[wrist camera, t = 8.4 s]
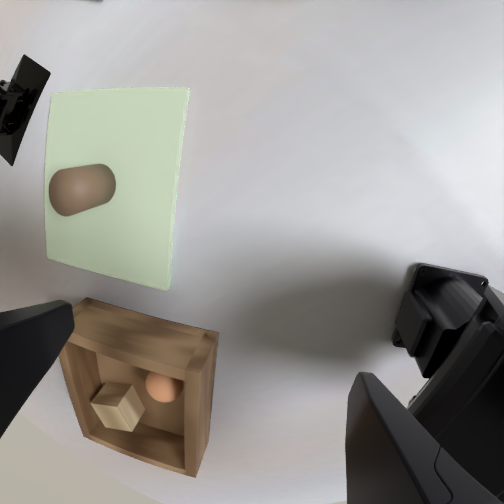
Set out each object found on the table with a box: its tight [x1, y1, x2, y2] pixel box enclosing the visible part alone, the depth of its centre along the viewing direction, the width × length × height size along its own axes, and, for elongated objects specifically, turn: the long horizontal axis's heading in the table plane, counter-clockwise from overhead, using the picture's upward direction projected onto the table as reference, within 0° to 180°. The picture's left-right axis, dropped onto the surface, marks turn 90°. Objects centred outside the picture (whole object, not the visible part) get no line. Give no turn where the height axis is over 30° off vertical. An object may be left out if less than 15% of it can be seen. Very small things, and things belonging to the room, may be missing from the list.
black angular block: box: [0, 55, 51, 166], centre depth 19 cm, size 12×7×5 cm, turn 143°
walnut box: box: [59, 298, 219, 478], centre depth 24 cm, size 12×14×5 cm
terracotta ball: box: [146, 371, 183, 402], centre depth 23 cm, size 3×3×3 cm
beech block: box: [91, 383, 145, 432], centre depth 25 cm, size 3×3×3 cm
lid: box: [44, 87, 190, 291], centre depth 19 cm, size 12×14×5 cm
